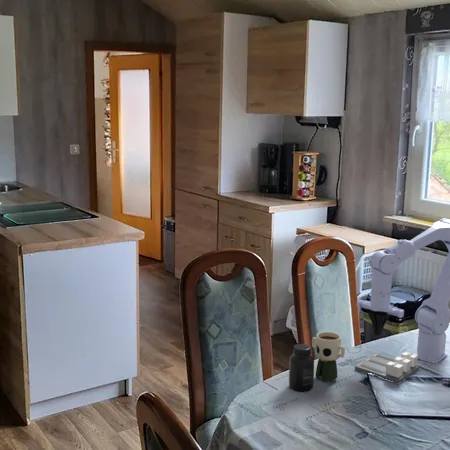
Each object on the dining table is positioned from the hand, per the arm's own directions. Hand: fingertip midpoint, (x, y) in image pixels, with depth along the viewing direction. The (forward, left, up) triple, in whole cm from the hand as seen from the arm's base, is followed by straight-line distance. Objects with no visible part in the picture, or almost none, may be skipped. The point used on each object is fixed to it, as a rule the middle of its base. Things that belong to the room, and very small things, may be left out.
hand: (378, 334), depth 187 cm
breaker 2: (-3, +9, -8) cm, 12 cm away
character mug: (+20, -5, -10) cm, 23 cm away
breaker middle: (+2, +9, -8) cm, 12 cm away
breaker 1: (+7, +9, -8) cm, 14 cm away
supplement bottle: (+30, -7, -10) cm, 32 cm away
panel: (+2, +5, -9) cm, 11 cm away
